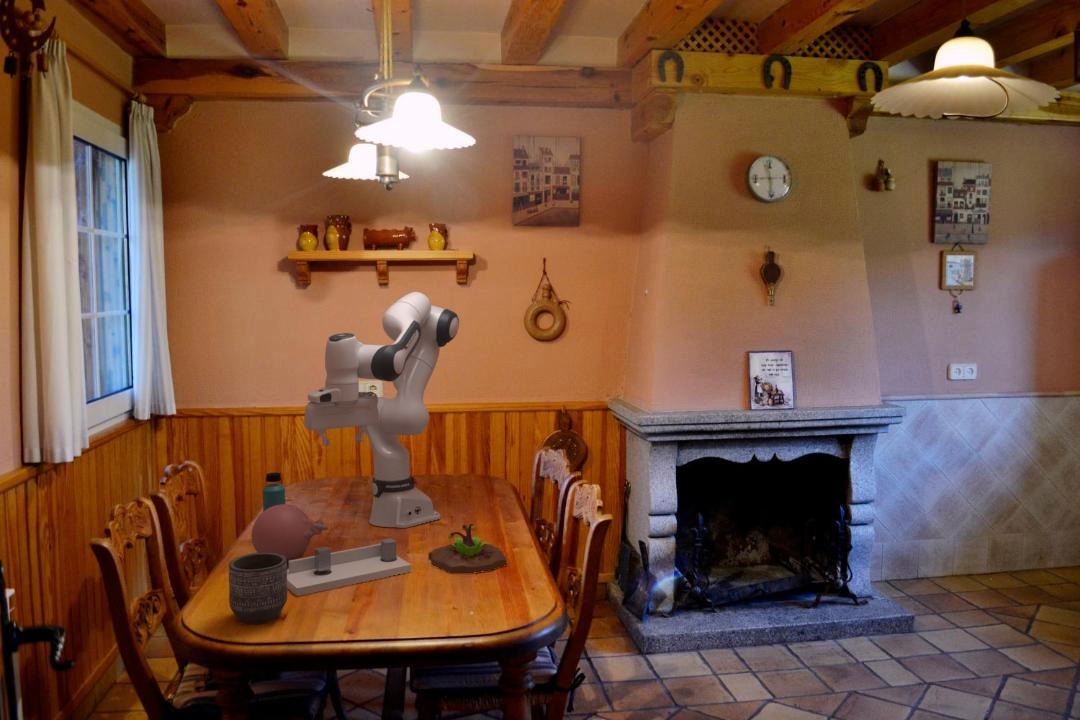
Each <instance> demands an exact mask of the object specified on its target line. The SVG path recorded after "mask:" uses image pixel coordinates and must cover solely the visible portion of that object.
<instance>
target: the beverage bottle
mask: <svg viewBox="0 0 1080 720" xmlns="http://www.w3.org/2000/svg"><path fill="white" fill-rule="evenodd" d="M281 475H282V474H281V473H280V472H274V471H273V472H269V473H266V476H265V482H268V484H266V485H265V486H264V487H263V488H262V512H264V511H265V510H266V509H268V508H270V507H272V506H275V505H280V504H286V503H287V500H286V487H285V486H284V485H283V484H282V483H278V482H281V480H282V476H281Z"/></svg>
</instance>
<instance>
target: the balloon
mask: <svg viewBox="0 0 1080 720" xmlns="http://www.w3.org/2000/svg"><path fill="white" fill-rule="evenodd" d="M328 529H329V526H328V525H326V524H325V523H324V522H323V520H322V519H318V520H316V521H314V520H312V519H311V518H309V517H308V515H307V514H306V513H305V512H304V511H303V510H302V509H300V508H299V507H298V506H295V505H291V504H280V505H275V506H272V507H270V508H268V509H266V510H265V511H264V512H263V511H262V512H261V513H260V514H259V515H258V517H257V518H256V519H255V521H254V523H253V526H252V529H251V542H252V545H253V548H254V549H255V552H256V553H277V554H281V555H283V556H285V557H286V560H287V563H289V560H295V559H299V558H300V557H301V556H302V555H304V554H305V552H306V551H307V549H308V548H309V547H310V544H311V542H312V539H313V537H314V536H316V535H317V536H318V535H319V536H320V535H321V534H322V532H323V531H327V530H328Z"/></svg>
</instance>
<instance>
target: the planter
mask: <svg viewBox="0 0 1080 720" xmlns="http://www.w3.org/2000/svg"><path fill="white" fill-rule="evenodd" d="M287 569H288V562H287V560H286V557H285V556H283V555H281V554H277V553H257V552H255V553H248V554H247V553H246V554H244V555H240V556H237V557H236V558H233V559H232V560H230V561H229V563H228V589H229V590H228V596H229V597H228V599H229V602H228V603H229V608H230V610H231V611H232V612H233V614H234V615H235V617H236V618H237V620H238V621H239V622H240V623H242V624H245V625H262V624H266V623H270V622H272V621H274V620H276V619H278V617H279V615H280V613H281V612H282V611H283V609H284V607H285V606H286V604H287V600H288V588H287Z"/></svg>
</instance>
